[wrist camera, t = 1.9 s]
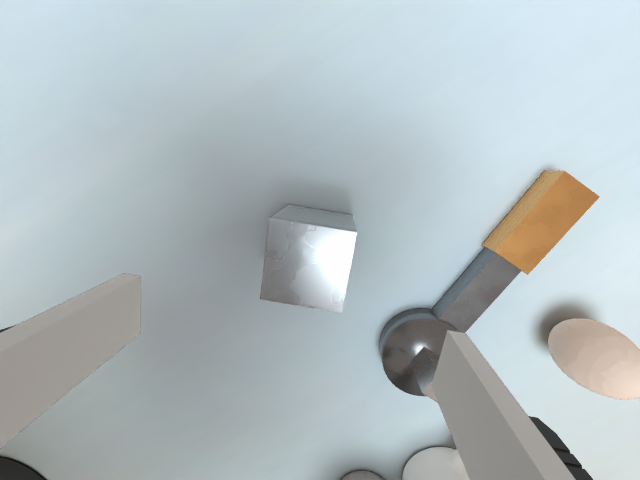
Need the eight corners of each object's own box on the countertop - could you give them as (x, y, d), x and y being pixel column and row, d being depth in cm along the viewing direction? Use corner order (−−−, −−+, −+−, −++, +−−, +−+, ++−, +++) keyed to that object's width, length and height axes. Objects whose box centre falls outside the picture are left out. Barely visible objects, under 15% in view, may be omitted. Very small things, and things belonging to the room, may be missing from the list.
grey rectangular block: (281, 264, 29) (259, 299, 22) (289, 204, 28) (269, 218, 20) (341, 274, 29) (341, 313, 22) (352, 214, 28) (356, 232, 20)
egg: (592, 301, 28) (686, 351, 21) (592, 352, 29) (681, 417, 22) (530, 310, 29) (599, 361, 21) (533, 359, 30) (599, 425, 22)
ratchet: (363, 352, 31) (369, 398, 25) (524, 156, 26) (584, 151, 19) (425, 391, 32) (446, 447, 25) (595, 208, 26) (676, 220, 20)
